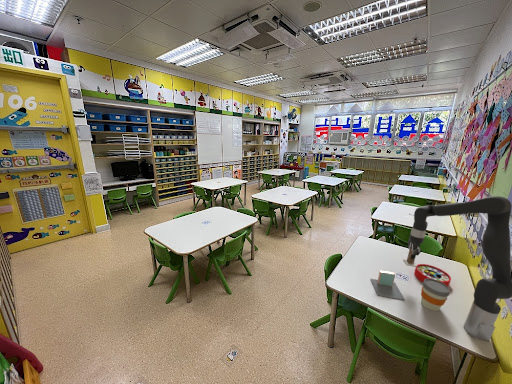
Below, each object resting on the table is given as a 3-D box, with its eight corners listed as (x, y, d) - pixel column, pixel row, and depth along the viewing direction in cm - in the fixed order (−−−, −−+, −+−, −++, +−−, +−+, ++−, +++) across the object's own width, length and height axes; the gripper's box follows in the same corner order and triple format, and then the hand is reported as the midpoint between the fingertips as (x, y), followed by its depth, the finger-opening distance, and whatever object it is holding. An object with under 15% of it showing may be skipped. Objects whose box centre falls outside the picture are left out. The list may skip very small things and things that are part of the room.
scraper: (416, 267, 139) (420, 252, 136) (406, 265, 140) (410, 251, 137) (412, 261, 145) (416, 248, 141) (402, 260, 146) (406, 246, 143)
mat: (404, 300, 131) (405, 299, 131) (377, 295, 135) (377, 294, 135) (394, 283, 146) (395, 282, 146) (370, 279, 150) (370, 278, 150)
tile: (392, 286, 142) (395, 274, 139) (378, 284, 144) (380, 272, 141) (391, 284, 144) (394, 272, 141) (377, 282, 146) (379, 270, 143)
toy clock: (410, 262, 162) (439, 265, 158) (408, 268, 163) (437, 272, 160) (425, 279, 143) (458, 283, 139) (423, 286, 144) (456, 290, 141)
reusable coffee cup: (444, 317, 120) (452, 296, 116) (418, 306, 127) (424, 286, 122) (441, 303, 130) (448, 283, 126) (417, 294, 137) (422, 275, 132)
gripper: (429, 240, 129) (422, 264, 134) (418, 230, 142) (412, 252, 147) (416, 239, 130) (409, 262, 135) (406, 229, 143) (401, 251, 148)
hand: (411, 257), depth 141 cm, fingers closed on scraper, 3 cm apart
